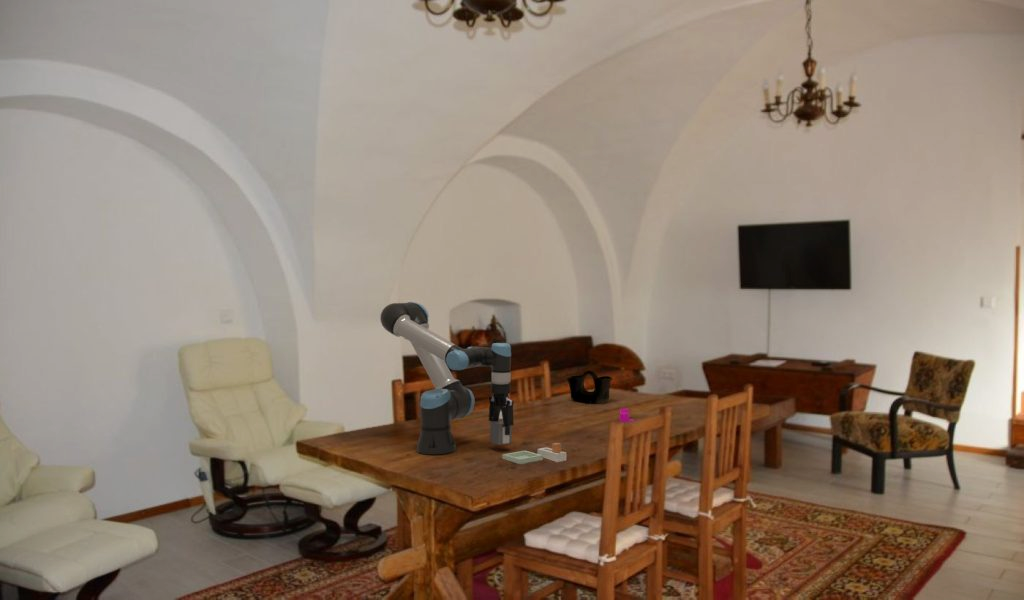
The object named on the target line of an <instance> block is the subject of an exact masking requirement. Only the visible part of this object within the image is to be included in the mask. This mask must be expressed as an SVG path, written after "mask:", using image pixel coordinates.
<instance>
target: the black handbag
mask: <svg viewBox="0 0 1024 600" xmlns="http://www.w3.org/2000/svg"><path fill="white" fill-rule="evenodd" d="M588 374H589V375H590V376H591V377H592V380H593V384H594V390H593V391H589V390H587V389H586V388H585V378H586V377H587V376H588ZM566 380H567V382H568V386H569V391H570V398H571V399H572V400H573V401H574V402H576V403H580V404H585V405H604V404H605V403H607V402H608V400H609V399H610V389H611V383H612V381H613V377H611V376H608V375H605V376H603V375H602V376H598V375H597V373H596V372H594V371H592V370H587V371H585V372H584V373H583V374H580V375H572V376H570V377H567V378H566Z"/></svg>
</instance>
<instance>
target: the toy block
mask: <svg viewBox="0 0 1024 600" xmlns="http://www.w3.org/2000/svg"><path fill="white" fill-rule="evenodd" d="M629 411H630V410H629V408H620V411H619V412H620V413H619V423H620V422H630V421H634V422H635V419H634V418H629V417H630V416H629V415H630V414H629V413H630V412H629Z"/></svg>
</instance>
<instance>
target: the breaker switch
mask: <svg viewBox="0 0 1024 600" xmlns="http://www.w3.org/2000/svg"><path fill="white" fill-rule="evenodd" d="M551 449H552V452H555V453H558V452H561V451H562V444H561V443H560V442H554V443H551Z"/></svg>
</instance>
